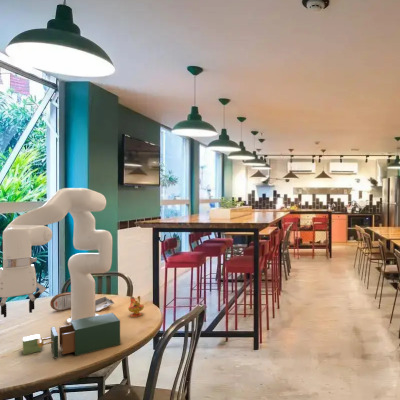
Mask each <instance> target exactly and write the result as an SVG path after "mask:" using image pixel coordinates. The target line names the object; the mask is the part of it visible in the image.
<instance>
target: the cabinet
mask: <svg viewBox="0 0 400 400" xmlns="http://www.w3.org/2000/svg"><path fill="white" fill-rule="evenodd" d="M71 324H72V326H73V328H74V330H75V352H73V353H74V355H75V356H76V357H77V356H81V355H84V354H89V353H92V352H96V351H100V350H105V349H109V348H111V347H117V346H119V345H121V320H120V318H118V316H117V315H116V314H115V313H114V312H109V313H103V314H99V315H98V316H93V317H88V318H82V319H77V320H72V321H71ZM71 324H70V325H71Z"/></svg>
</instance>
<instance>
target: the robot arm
mask: <svg viewBox="0 0 400 400" xmlns="http://www.w3.org/2000/svg"><path fill="white" fill-rule="evenodd" d="M106 206H107V198H106V197H105V195H104V194H102V193H101V192H98V191H95V190H92V189H89V188H86V187H85V188H84V187H63V188H59V189H58V190H57V191H55V192H54V194H52V196H51V197H49V199H47V201H46V202H45V203H44V204H42V206H39V207H35V208H33V209H31V210H29V211H27V212H24V213H22V214H19V215H18V216H16V218H14V219H13V220H12V221H11V222H9V224H8V225H7V226H6V227H5V228H4V230H3V231H2V267H0V298H1V299H0V315H1V316H3V318H7V316H8V315H7V304H6V303H7V300H8V298H12V297H19V296H26V295H27V296H28V298H29V300H28V312H29V314H30V313H33V310H35V301H36V300H37V299H38V298H39V297H40V296H41V295H42V294H43V293H44V292H45V291H46V290H47V287H46V286H44V285H43V284H41V283H39V282H38V281H37V272H36V268H35V264H33V263H36V262H37V261H38V258H37V257H33V256H32V247H33V246H44V245H46V244H48V243H49V242H51V240H52V238H53V231H52V229H51V228H50V227H49V226H47V225H52V224H56V223H59V222H61V221H62V220H63V219H64V218H65V217H66V216H67V214H68V213H69V214H70V216H71V217H72V219H73V237H72V245H73V248H74V249H75V250H79V251H98V252H79V253H75V254H72V255H71V256H70V257H69V259H68V261H67V267H68V272H69V276H70V292H71V308H70V317H68V318H67V320H66V323H67V325H71V321H72V320H77V319H82V318H88V317H93V316H98V315H100V314H99V313H98V312H97V313H96V311H95V300H96V281H95V278H94V277H93V275H92V274H105V273H107V272H109V271H110V270H111V268H112V264H113V235H112V233H111V232H110V231H109V230H105V229H96V217H95V216H94V215H93V214H92V212H93V213H94V212H102V211H103V210H104V209H105V208H106ZM37 289H38V291H37Z"/></svg>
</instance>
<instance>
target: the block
mask: <svg viewBox="0 0 400 400" xmlns="http://www.w3.org/2000/svg"><path fill="white" fill-rule="evenodd" d="M38 338H41V334H40V333H37V334H33V335H29V336H23V337H22V354H23V356H25V355H30V354H33V353H38V352H41V351H42V349H41V348H42V347H38V343H37V339H38Z"/></svg>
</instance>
